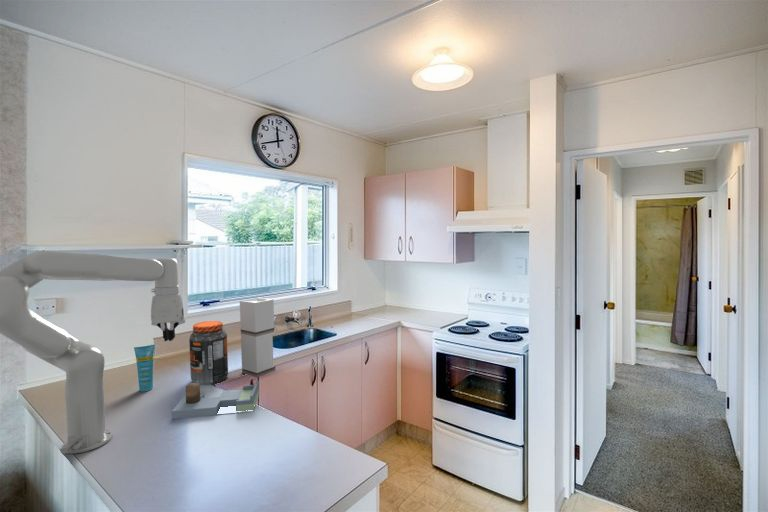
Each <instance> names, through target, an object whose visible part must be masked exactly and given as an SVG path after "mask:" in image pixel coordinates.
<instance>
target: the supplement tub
mask: <svg viewBox="0 0 768 512" xmlns="http://www.w3.org/2000/svg"><path fill="white" fill-rule="evenodd" d="M223 324H224V323H223V321H221V320H207V321H201V322H197V323H195V324H193V325H192V332H191V334H190V336H189V339H188V341H189V342H188V343H189V366H190V371H189V372H190V380H191V382H192V383H199V384H200V385H210V384H215V383H219V382H221V381H223V380H225V379H227V377H228V376H229V362H228V361H229V360H228V359H229V358H228V355H229V354H228V334H227V332H226V330H225V329H223V327H224V325H223Z"/></svg>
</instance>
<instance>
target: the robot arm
mask: <svg viewBox="0 0 768 512" xmlns="http://www.w3.org/2000/svg"><path fill="white" fill-rule="evenodd" d="M178 273H179V271H178V261H177V259H176V258H173V257H166V258H164V257H163V258H155V259H152V258H136V257H135V258H134V257H122V256H121V257H120V256H114V255H108V254H96V253H83V252H69V251H67V252H66V251H53V250H37V251H36V250H35V251H34V252H31V253H28V254H27V255H25V256H23V257H21V258H20V259H18V260H16V261H15V262H13V263H12V264H9V265H8V266H6V267H4V268H2V269H0V334H1V336H4V337H6V338H7V339H9V340H11V341H12V342H14V343H15V344H17V345H19V346H21V347H22V349H24V350H25V351H26V352H27V353H30V354H31V355H34V356H35V357H37V358H39V359H41V360H42V361H44V362H47V363H48V364H49V365H52V366H54V367H56V368H58V369H60V370H61V371H63V372H65V383H64V384H65V385H64V397H65V412H66V427H67V428H66V429H67V439H66V440H65V441H64V442H63V444H62V445H61V448H60V453H61V455H62V454H63V455H66V454H70V455H71V454H72V455H73V454H81V453H85V452H90V451H92V450H95V449H99V448H100V447H102V446H103V445H105V444H107V443H108V442H109V441H110V440H111V439H112V437H113V433H112V431H111V430H109V429H107V428H106V427H107V426H106V409H105V408H106V407H105V394H104V392H105V391H104V372H105V356H104V354H103V352H102V351H101V350H100V349H99V348H97V347H95V346H93V345H91V344H89V343H88V344H87V343H85V342H83V341H81V340H79V339H78V338H76V337H74V336H72V335H71V334H69V332H68V331H67V330H65V329H64V328H63V327H62V326H61V327H60V326H58V325H56V324H54V323H52V322H51V321H49V320H47V319H45V318H43V317H42V316H40V315H39V314H38V313H36V312H34V311H33V310H32V309H31V308H30V307H29V305H28V299H29V295H30V289H31V288H33V287H34V286H36V285H37V284H39V283H40V282H42V281H43V280H53V281H55V280H56V281H91V282H92V281H94V282H95V281H98V282H100V281H101V282H109V281H127V282H128V281H131V282H154V288H151V289H150V292H151V293H154V295H153V296H152V299H151V307H150V321H151V325H152V326H155V327H158V328H159V329H160V330H161V331H162V339H164V340H163V341H164V342H168V341H169V342H172V341H173V340H174V339H175V338H176V332H175V331H176V330H175V329H176V328H177V327H178V326H179V325H183V324H185V323H186V320H185V318H184V317H185V311H184V310H185V309H184V304H183V298H182V296H181V293H179V274H178ZM168 324H169V327H168Z"/></svg>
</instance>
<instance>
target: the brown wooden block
mask: <svg viewBox="0 0 768 512" xmlns="http://www.w3.org/2000/svg"><path fill="white" fill-rule="evenodd" d="M184 389H185V394H186V403H187V404H193V403H197V402H199V401H200V400H201V397H200V393H201V384H199V383H194V382H192V383H188V384H187V385H185V386H184Z"/></svg>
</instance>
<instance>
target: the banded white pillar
mask: <svg viewBox="0 0 768 512" xmlns="http://www.w3.org/2000/svg"><path fill="white" fill-rule="evenodd" d="M274 305H275V303H274V299H272V298H264V297H256V301H248V300H239V321H240V322H239V323H240V325H239V326H240V345H241V347H240V349H241V353H240V354H241V373H242V374H245V375H249V376H252V377H254V378H255V377H256V378H259V377H263V376H265V375H267V374H268V375H269V374H270V373H273V372H275V371H276V365H274V341H273V340H274V338H273V336H274V335H275V311H274V310H275V307H274Z"/></svg>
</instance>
